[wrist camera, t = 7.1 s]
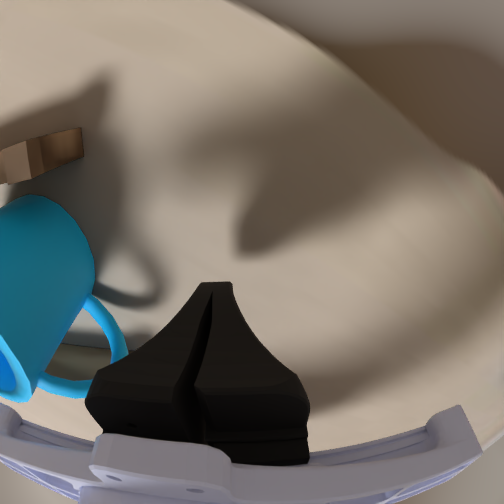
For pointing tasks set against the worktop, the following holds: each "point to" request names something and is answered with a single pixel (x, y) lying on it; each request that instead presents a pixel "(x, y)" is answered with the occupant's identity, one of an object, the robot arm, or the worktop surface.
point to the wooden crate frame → (27, 167)
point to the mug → (44, 296)
